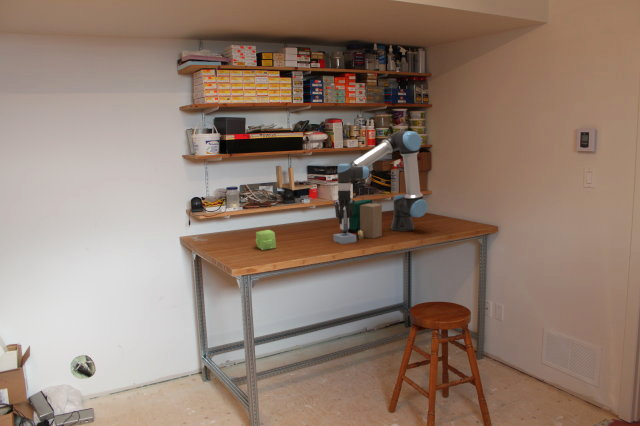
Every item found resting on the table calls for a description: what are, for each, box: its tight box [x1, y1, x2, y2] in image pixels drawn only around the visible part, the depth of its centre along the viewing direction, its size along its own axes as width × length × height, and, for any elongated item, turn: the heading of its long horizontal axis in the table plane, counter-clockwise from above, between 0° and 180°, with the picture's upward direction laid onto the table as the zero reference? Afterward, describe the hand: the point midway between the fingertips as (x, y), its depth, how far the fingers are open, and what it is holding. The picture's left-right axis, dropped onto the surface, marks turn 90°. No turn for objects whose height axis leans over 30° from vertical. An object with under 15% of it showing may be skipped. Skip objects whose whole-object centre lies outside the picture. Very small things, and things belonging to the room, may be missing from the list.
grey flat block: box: [332, 232, 357, 245], centre depth 312 cm, size 10×10×4 cm
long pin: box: [341, 209, 348, 234], centre depth 310 cm, size 3×3×14 cm
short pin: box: [357, 230, 364, 240], centre depth 318 cm, size 3×3×5 cm
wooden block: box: [360, 203, 383, 239], centre depth 323 cm, size 10×10×20 cm
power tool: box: [347, 198, 376, 236], centre depth 341 cm, size 32×7×20 cm, turn 146°
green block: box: [255, 229, 277, 251], centre depth 300 cm, size 18×10×10 cm, turn 23°
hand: (344, 228), depth 311 cm, fingers closed on long pin, 3 cm apart
